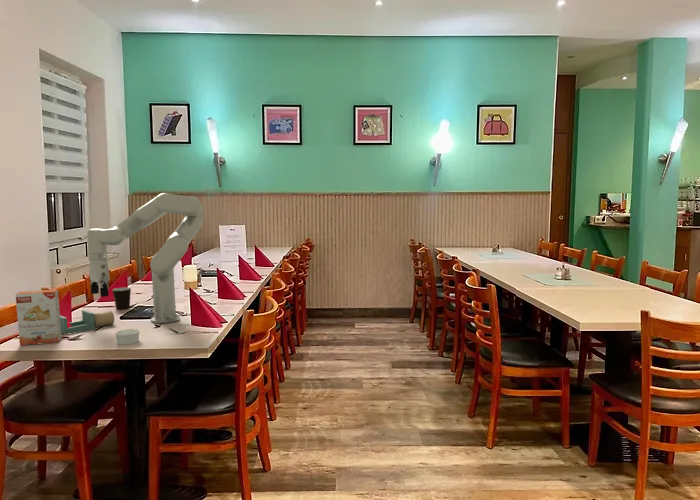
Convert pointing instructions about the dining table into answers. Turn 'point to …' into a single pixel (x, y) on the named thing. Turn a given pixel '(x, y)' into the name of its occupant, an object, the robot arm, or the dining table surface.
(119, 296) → the coffee mug
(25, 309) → the cracker box
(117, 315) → the dining table surface
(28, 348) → the dining table surface
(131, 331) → the ramekin
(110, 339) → the dining table surface
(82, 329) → the roll holder
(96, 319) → the paper roll
